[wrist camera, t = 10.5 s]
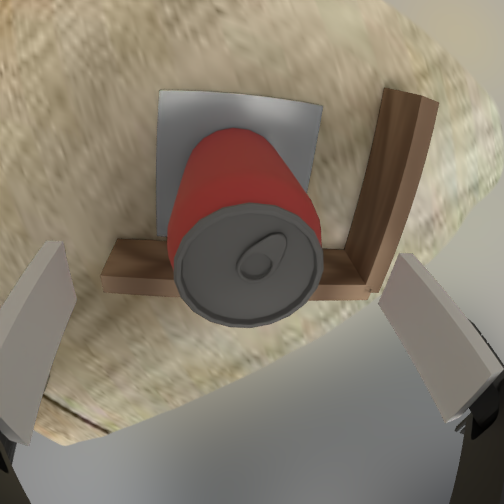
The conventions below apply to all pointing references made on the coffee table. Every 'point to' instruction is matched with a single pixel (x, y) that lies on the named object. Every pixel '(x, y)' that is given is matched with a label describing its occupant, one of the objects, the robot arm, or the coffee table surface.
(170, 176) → the coaster
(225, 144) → the beer can
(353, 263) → the wooden corner frame
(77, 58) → the coffee table surface
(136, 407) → the coffee table surface
